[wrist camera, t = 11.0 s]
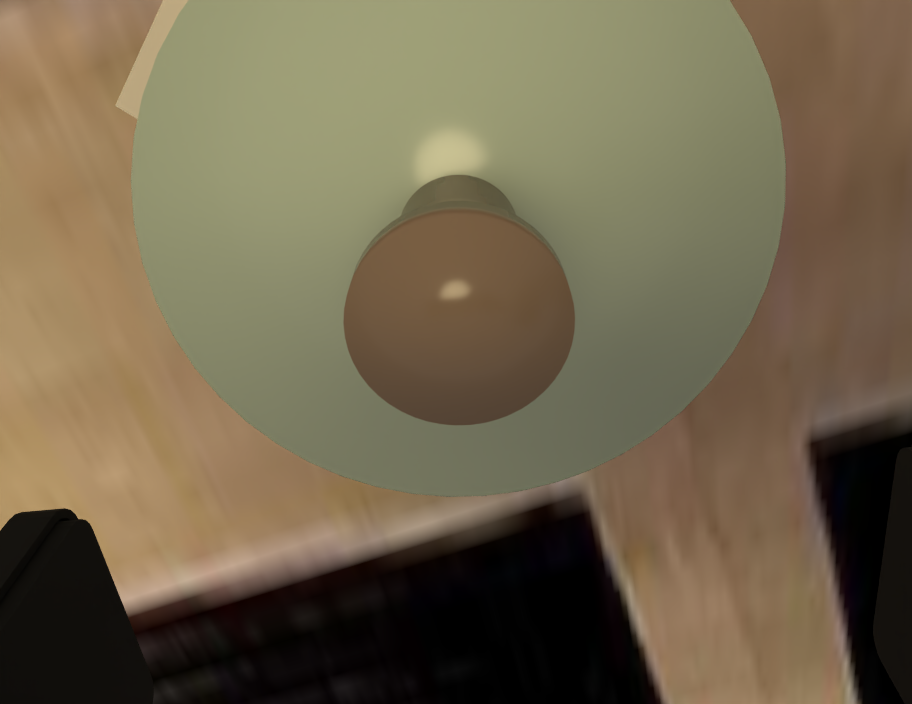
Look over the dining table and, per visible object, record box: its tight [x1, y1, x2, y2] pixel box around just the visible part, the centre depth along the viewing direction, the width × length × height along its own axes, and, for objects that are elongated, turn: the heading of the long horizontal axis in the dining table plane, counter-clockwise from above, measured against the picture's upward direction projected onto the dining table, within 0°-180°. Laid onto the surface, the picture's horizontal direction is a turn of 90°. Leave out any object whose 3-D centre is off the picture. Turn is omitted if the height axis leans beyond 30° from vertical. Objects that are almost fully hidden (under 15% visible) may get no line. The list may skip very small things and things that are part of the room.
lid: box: [131, 0, 786, 497], centre depth 19 cm, size 16×16×6 cm
